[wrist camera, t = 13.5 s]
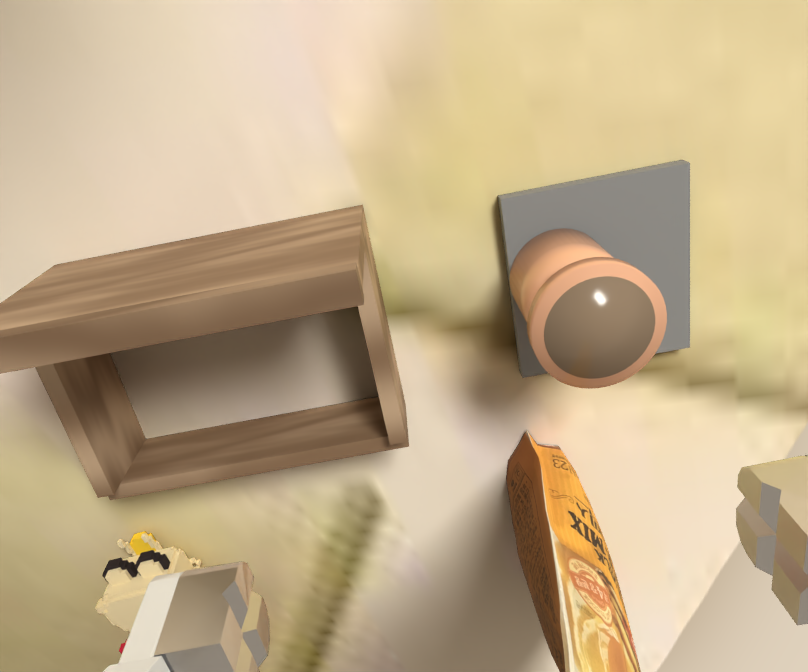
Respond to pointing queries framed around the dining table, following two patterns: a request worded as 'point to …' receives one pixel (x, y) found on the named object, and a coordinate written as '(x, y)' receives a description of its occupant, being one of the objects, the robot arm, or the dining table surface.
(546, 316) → the terracotta pot
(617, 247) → the rubber mat
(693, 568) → the dining table surface
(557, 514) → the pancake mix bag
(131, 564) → the cream toy figurine
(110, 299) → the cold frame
